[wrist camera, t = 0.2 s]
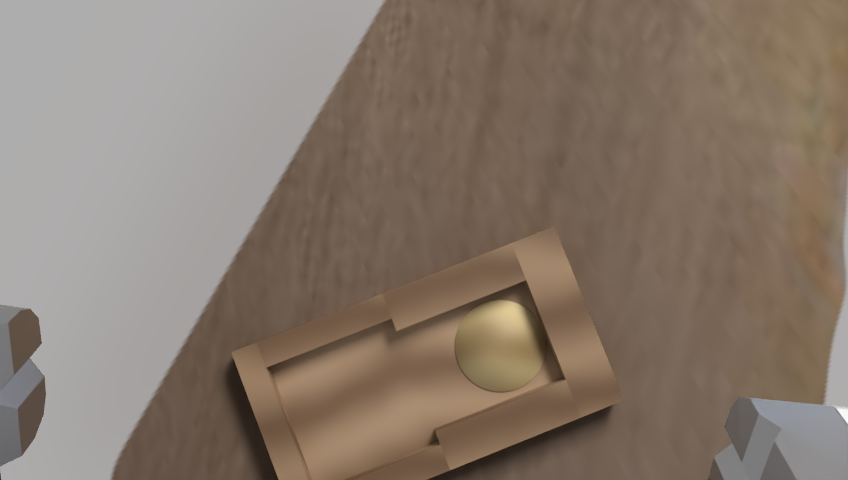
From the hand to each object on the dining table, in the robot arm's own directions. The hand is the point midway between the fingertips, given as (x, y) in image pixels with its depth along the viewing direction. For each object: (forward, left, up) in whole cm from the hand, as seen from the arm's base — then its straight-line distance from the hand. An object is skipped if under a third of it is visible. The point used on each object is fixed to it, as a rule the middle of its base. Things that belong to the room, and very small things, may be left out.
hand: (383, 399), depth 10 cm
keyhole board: (-5, 0, -54) cm, 54 cm away
